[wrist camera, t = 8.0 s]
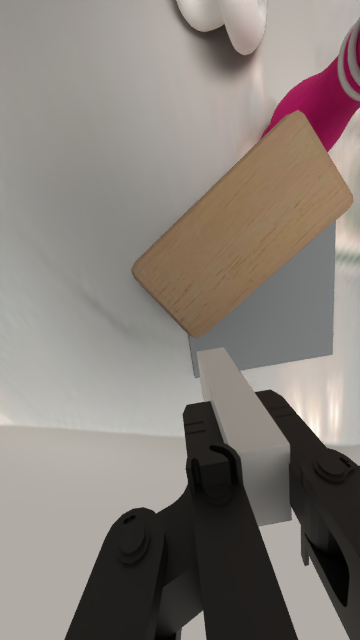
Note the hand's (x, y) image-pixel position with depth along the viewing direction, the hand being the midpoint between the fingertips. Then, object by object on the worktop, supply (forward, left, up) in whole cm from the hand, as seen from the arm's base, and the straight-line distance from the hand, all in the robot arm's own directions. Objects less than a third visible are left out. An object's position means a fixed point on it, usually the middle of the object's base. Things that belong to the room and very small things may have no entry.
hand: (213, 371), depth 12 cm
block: (-2, -3, -15) cm, 15 cm away
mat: (0, +11, -20) cm, 23 cm away
